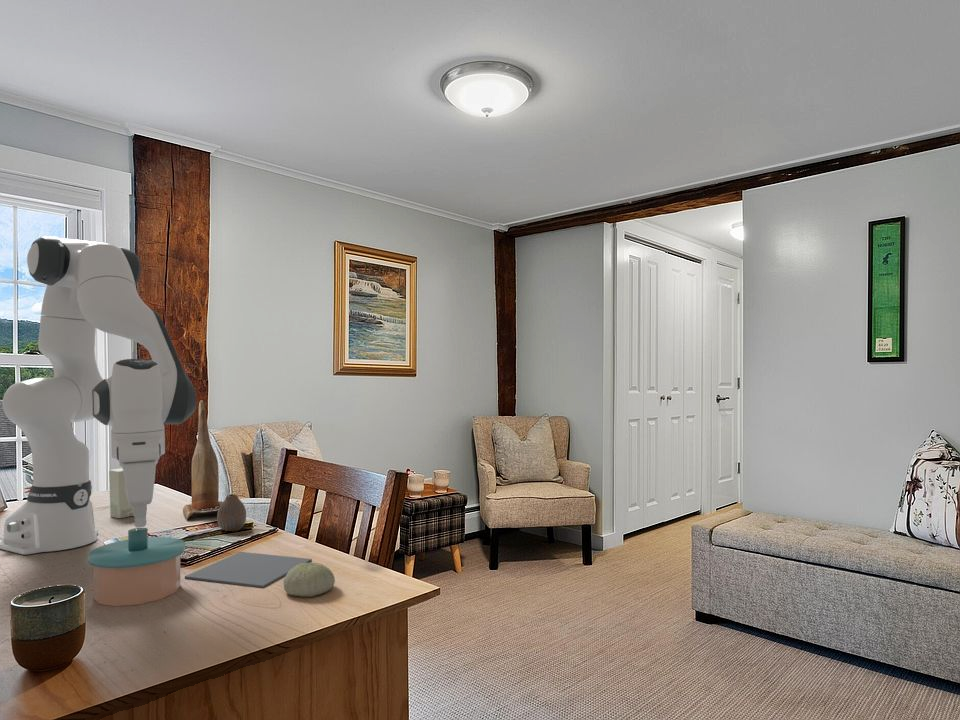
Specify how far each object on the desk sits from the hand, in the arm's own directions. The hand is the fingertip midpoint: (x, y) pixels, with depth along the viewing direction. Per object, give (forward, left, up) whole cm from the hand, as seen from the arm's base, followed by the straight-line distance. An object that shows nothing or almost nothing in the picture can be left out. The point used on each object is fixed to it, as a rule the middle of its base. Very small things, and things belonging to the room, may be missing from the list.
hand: (140, 520), depth 121 cm
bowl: (0, 0, -13) cm, 13 cm away
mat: (+12, +17, -13) cm, 24 cm away
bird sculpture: (-30, +53, -14) cm, 63 cm away
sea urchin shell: (+29, +10, -14) cm, 34 cm away
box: (-50, +45, -13) cm, 69 cm away
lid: (0, 0, -6) cm, 6 cm away
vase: (-12, +42, -13) cm, 46 cm away
